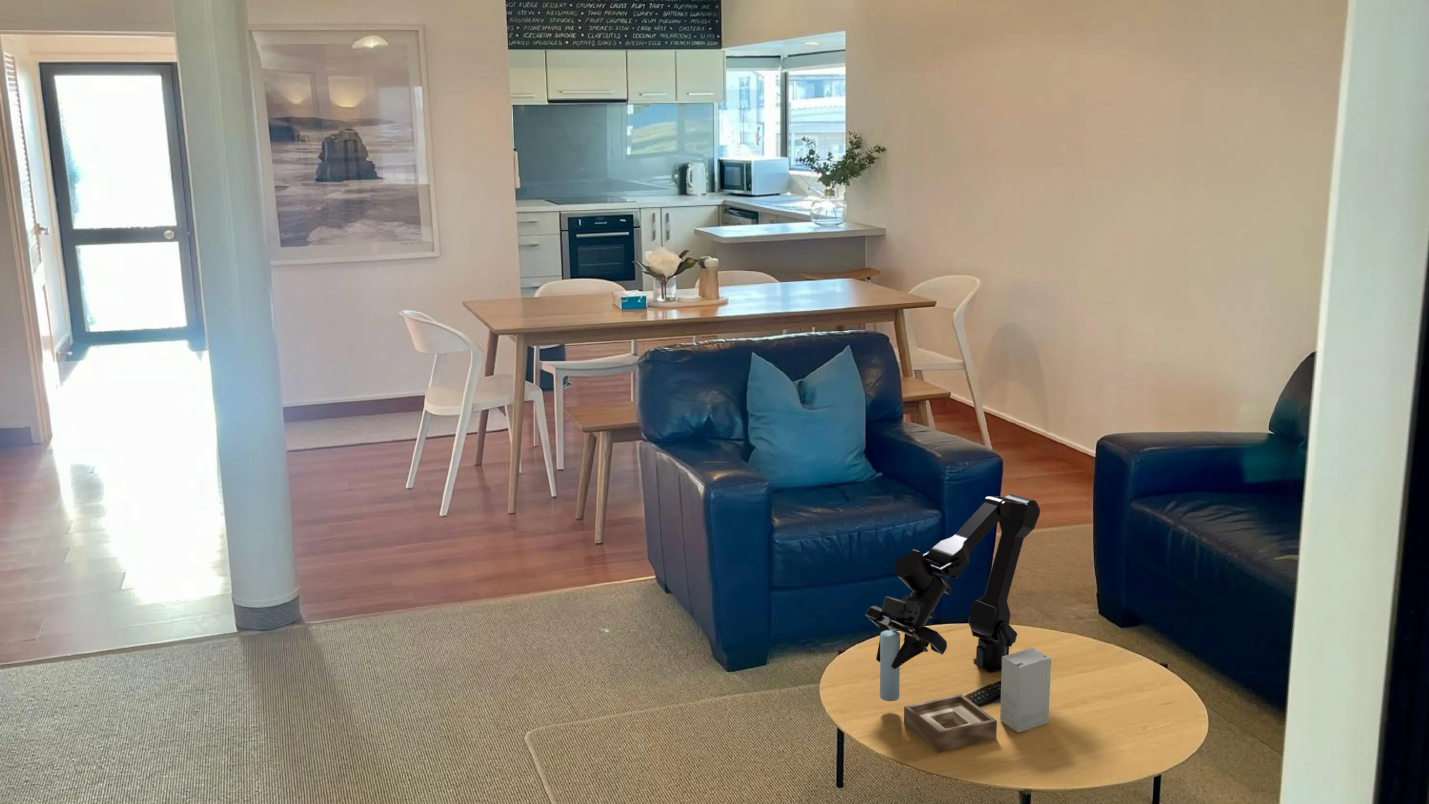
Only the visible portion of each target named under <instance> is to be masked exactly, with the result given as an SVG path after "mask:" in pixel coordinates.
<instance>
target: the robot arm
mask: <svg viewBox="0 0 1429 804" xmlns="http://www.w3.org/2000/svg"><path fill="white" fill-rule="evenodd" d="M982 501H983V502H982V505H980V507H979V508H978V509H977V510H976V511H975V512H974V513H973V514H972V515H971V517H970V518H968V520H967V521H966V522H965V523H964V524H963V525H962V526H961V527H960V528H959V530H957V532H956V533H955V534H953V536H951V537H948V538H946V539H942V540H940V541H939V542H938V543H936V544H935V545H934V546H933V547H932V548H930V550H929V551H927V552H926V553H922V552H921V551H919V550H917V549H913V548H912V549H911V551H910V552H909V553H905V554H904V555H901V556H900V557H899V558H897V559H896V561H895V564H894V567H893V571H894V573H895V575H896V576H897V577H898V578H899V579H900V580H901V581H902V582H903V583H904V584H905V585H906V587H908V588H909V589H910V590H912V591H911V593H910V594H909V595H908V594H905V595H903V596H902V598H901V599H899V598H895V597H891V596H888V595H886V596H885V597H884V600H883V604H882V607H879V606H876V605H873V606H869V608H868V609H867V611H866V612H865V616H866V618H868V619H869V620H870V621H871V622H872V623H873V624H874V625H876V627H878V629H879V635H880V634H881V632H883V631H886V630H892V631H899V632H901V633H904V637H903V644H902V645H901V646H900V651H899V652H898V654H897V656H896V658H895V659H894V661H893V664H892V668H893V669H896V668H898V667H899V666H900V667H901V666H903V665H904V664H905V663H907V662H908V661H910V660H911V659H913V658H914V657H917V656H918V655H920V654H922V653H928V651H929V649H928V647H929V645H930V649H931V651H933V652H935V653H937V654H940V655H941V656H942V655H944V653H945V652H946V650H947V649H948V643H947V640H946V639H945V638H944V637H943V636H942V635H941V634H940V633H939V632H938V631H937V630H934V629H932V628H929V627H927V626H925V625H926V624H927V622H928V620H929V619H934V618H935V616H936V613H934V610H935V608H936V606H937V605H938V603H939V602H940V599H941V598H942V597H943V594H947V595H951V594H952V588H951V587H950V581H949V580H946V579H943V578H941V577H940V576H943V577H946V578H947V579H955V580H956V579H958V578H959V577H961V576H962V574H963V572H964V570H966V569H967V567H968V565H969V564H970V555H971V554H972V552H973V551H974V550H975V548H976V547H977V546H978V545H979V544H980V543H981V541H983V539H985V537H986V536H987V535H988V534H989V533H990V532H991V530H993V529H994V527H995V526H996V525H997V524H999V527H1000V530H1001V532H1000V533H1001V534H1000V537H999V540H998V543H997V544H998V545H997V547H996V552H995V555H994V559H993V561H992V565H991V570H990V573H989V578H988V581H987V585H986V588H985V592H984V594H983V595H982V596H981V597H980V598H979V599H978V600H977V599H974V600H973V601H972V603H971V608H970V609H971V610H970V612H969V614H968V616H967V617H968V625H969V628H970V629H971V630H970V631H971V634H972V635H971V636H972V637H974V638H975V637H976V638H977V640H978V641H977V646H976V647H975V648H976V653H975V655H976V656H975V658H973V663H975V664H976V665H978V666H979V667H980V668H982V669H983V670H985V671H987V672H988V673H995V672H998V671H1002V656H1006V655H1009V654H1010V648H1011V647H1012V646H1013V644H1015V643H1016V640H1017V637H1018V632H1017V631H1016V630H1015V629H1014V627H1012V626H1011V625H1010V620H1011V611H1010V607H1009V604H1008V598H1009V593H1010V590H1011V587H1012V583H1013V579H1014V576H1015V573H1016V569H1017V565H1018V560H1019V558H1020V553H1021V550H1022V546H1023V542H1024V539H1025V538H1026V537H1027V536H1028V535H1030V533H1031V532H1032V531H1033V530H1034V529H1035V527H1036V525H1037V521H1038V519H1039V518H1040V515H1041V508H1040V506H1039V504H1038V502H1037V500H1034V499H1031V498H1028V497H1024V496H1021V495H1018V494H1013V493H1009V494H1007V495H1006V496H993V495H991V496H986V497H985V498H984V499H983V500H982ZM875 660H876V661H877V662H879V663H880V640H879V643H878V647H877V654H876V659H875Z"/></svg>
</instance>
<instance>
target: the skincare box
mask: <svg viewBox="0 0 1429 804" xmlns="http://www.w3.org/2000/svg"><path fill="white" fill-rule="evenodd" d="M1051 670H1052V658H1051V657H1050V656H1048V655H1046V654H1045V653H1042V652H1041V651H1039V650H1038V649H1036V648H1035V647H1028V648H1026V649H1022V650H1020V651H1016V652H1012V653H1009V655H1006V656H1002V670H1001V678H1000V680H1001V683H1000V712H999V713H1000V716H999V720H1000V721H1001V722H1002V723H1003V724H1004V725H1006V726H1008V727H1009V728H1010V729H1012V730H1013V731H1014V732H1016V733H1021V732H1025V731H1027V730H1031V729H1034V728H1037V727H1041V726H1044V725H1046V724H1049V719H1050V718H1049V717H1050V693H1051V692H1050V690H1051Z"/></svg>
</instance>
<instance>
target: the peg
mask: <svg viewBox="0 0 1429 804" xmlns="http://www.w3.org/2000/svg"><path fill="white" fill-rule="evenodd" d="M879 641H880V662H879V664H880V665H879V670H880V672H879V697H880V699H881V700H883V701H886V702H896V701H898V700H899V699H900V686H901V685H900V675H901V672H900V669H901V668H900V667H901V666H899V667H898V668H896V669H893V668H892V664H893V661H894V659H895V658H896V656H897V654H898V652H899V651H900V649H901V633H900V631H899V632H898V630H896V631H892V630H886V631H883V632H881V634H880V633H879Z"/></svg>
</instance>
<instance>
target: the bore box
mask: <svg viewBox="0 0 1429 804" xmlns="http://www.w3.org/2000/svg"><path fill="white" fill-rule="evenodd" d="M949 723H955V724H956V725H957V726H952V727H947V728H945V727H943V726H942V725H946V724H949ZM903 724H904V725H905V726H906V727H907V728H908V729H909V730H910V731H912V732H913V733H914V734H915V735H917V736H918V737H919V738H920V739H921V740H922V741H923V742H925V744H927V745H928V746H929V747H931V748H932V749H933V750H934V751H935V752H937V753H941V752H944V751H949V750H954V749H957V748H961V747H966V746H970V745H974V744H978V743H981V742H985V741H990V740H995V739H997V727H998V721H997V719H995V718H994V717H993V716H991V715H990V714H988V713H987V712H986V711H985V710H983V709H982V708H981V707H979V706H978V705H977V704H976V703H974V702H972V701H971V700H970V699H969V698H968V697H967V696H965V695H963V694H962V693H959V694H954V695H950V696H945V697H940V698H935V699H930V700H927V701H922V702H917V703H914V704H910V705H909V704H908V705H906V706H905V705H904V706H903Z"/></svg>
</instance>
